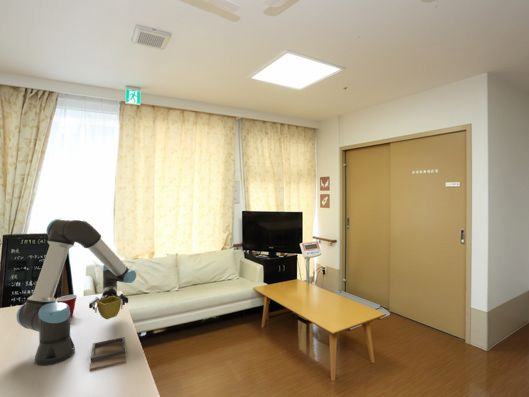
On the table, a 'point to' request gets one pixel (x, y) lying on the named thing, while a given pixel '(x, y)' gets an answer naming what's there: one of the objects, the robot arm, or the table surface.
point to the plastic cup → (68, 302)
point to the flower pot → (109, 307)
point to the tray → (108, 353)
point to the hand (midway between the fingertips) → (108, 308)
